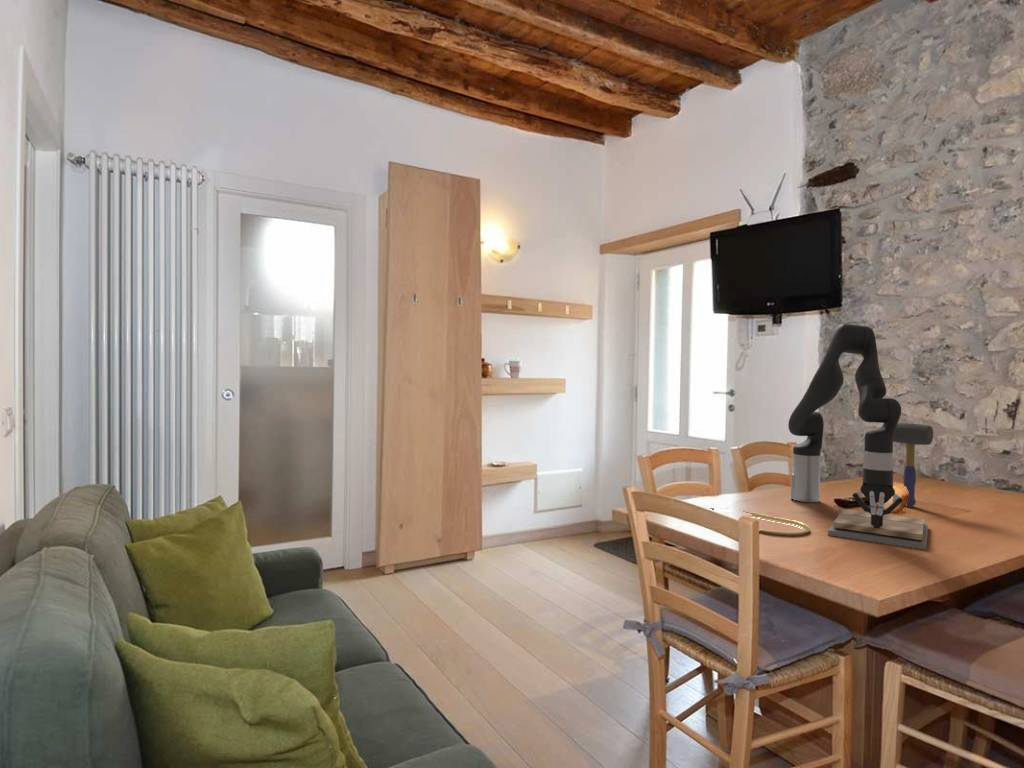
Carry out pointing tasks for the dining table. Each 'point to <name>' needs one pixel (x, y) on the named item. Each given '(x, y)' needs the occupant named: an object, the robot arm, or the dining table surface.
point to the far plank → (884, 517)
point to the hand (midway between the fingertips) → (876, 527)
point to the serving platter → (780, 521)
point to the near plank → (878, 529)
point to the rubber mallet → (912, 451)
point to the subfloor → (879, 537)
